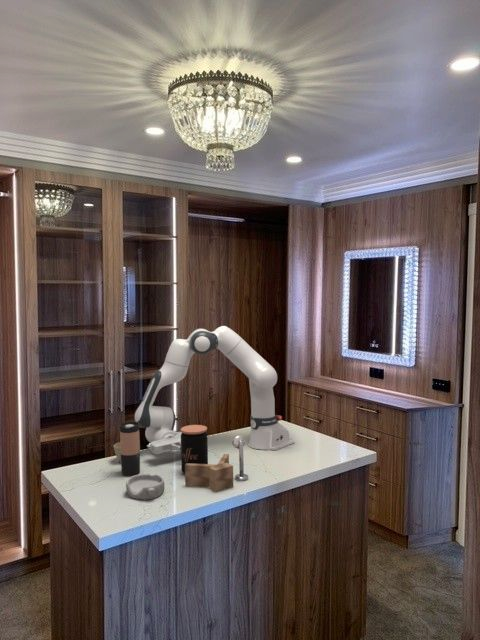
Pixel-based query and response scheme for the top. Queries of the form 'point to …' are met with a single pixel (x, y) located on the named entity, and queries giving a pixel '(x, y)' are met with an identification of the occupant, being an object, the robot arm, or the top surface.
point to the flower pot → (117, 451)
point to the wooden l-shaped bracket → (210, 475)
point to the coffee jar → (194, 445)
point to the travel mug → (130, 448)
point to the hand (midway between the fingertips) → (182, 448)
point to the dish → (145, 486)
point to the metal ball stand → (240, 457)
